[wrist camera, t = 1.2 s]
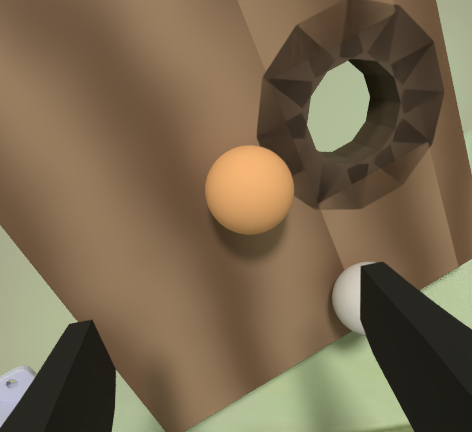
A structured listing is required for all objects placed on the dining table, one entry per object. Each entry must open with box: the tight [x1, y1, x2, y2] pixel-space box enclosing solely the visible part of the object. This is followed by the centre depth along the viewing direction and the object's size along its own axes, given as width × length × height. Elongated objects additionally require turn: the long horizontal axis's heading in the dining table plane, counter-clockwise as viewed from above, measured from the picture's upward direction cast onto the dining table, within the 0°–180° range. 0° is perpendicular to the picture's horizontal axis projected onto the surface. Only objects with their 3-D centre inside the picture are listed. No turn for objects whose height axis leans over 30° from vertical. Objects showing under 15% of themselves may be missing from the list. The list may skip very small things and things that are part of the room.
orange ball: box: [205, 145, 294, 235], centre depth 17 cm, size 4×4×4 cm
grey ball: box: [332, 262, 376, 336], centre depth 21 cm, size 4×4×4 cm
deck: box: [0, 0, 472, 432], centre depth 20 cm, size 20×22×2 cm
